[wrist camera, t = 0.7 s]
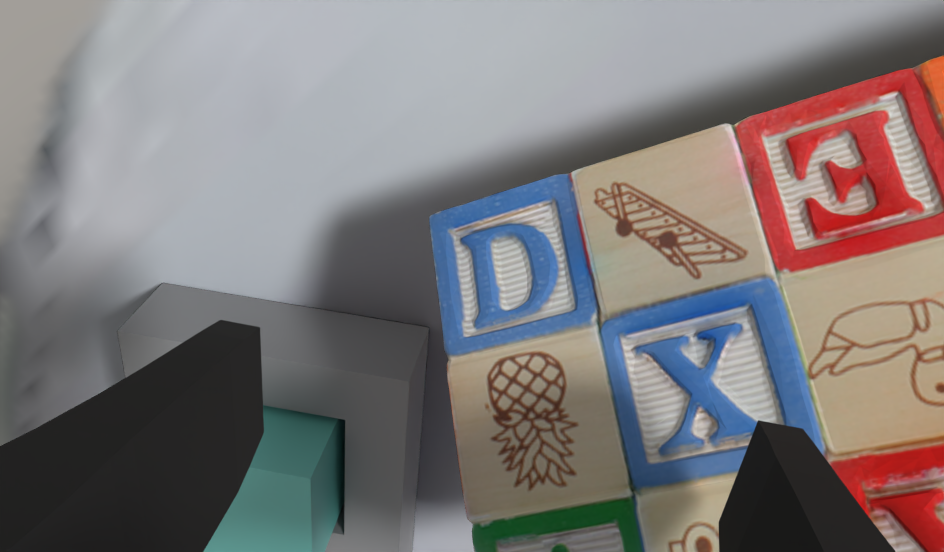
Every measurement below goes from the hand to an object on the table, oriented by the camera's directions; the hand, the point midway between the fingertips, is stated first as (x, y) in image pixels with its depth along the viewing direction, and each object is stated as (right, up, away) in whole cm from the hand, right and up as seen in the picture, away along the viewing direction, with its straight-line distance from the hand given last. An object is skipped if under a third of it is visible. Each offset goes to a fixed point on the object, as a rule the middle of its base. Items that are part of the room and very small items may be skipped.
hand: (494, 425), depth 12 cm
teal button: (-6, -2, +14) cm, 15 cm away
